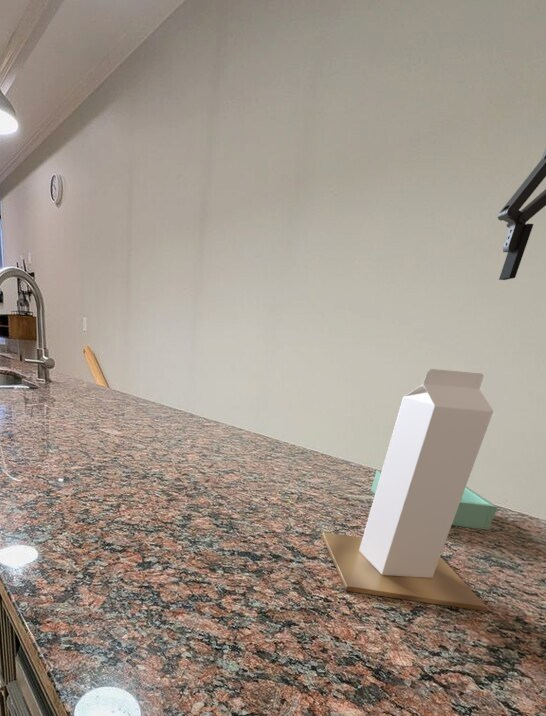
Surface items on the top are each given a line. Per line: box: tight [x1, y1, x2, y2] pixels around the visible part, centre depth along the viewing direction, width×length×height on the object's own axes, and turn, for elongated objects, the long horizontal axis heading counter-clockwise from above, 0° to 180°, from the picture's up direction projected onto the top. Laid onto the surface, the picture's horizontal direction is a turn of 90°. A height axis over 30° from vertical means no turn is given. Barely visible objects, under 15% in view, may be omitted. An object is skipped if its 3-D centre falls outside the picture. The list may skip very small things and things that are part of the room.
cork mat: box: [321, 532, 488, 612], centre depth 53 cm, size 14×14×1 cm
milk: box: [359, 368, 494, 578], centre depth 49 cm, size 6×6×22 cm
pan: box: [370, 469, 498, 531], centre depth 74 cm, size 14×14×4 cm
